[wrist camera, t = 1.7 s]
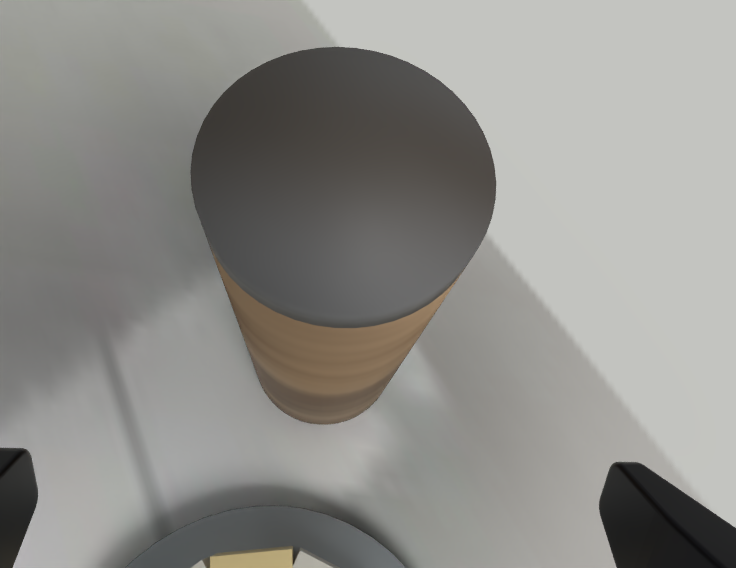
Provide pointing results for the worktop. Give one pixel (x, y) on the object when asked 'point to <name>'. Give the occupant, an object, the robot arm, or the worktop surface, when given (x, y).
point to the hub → (267, 542)
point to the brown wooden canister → (339, 217)
